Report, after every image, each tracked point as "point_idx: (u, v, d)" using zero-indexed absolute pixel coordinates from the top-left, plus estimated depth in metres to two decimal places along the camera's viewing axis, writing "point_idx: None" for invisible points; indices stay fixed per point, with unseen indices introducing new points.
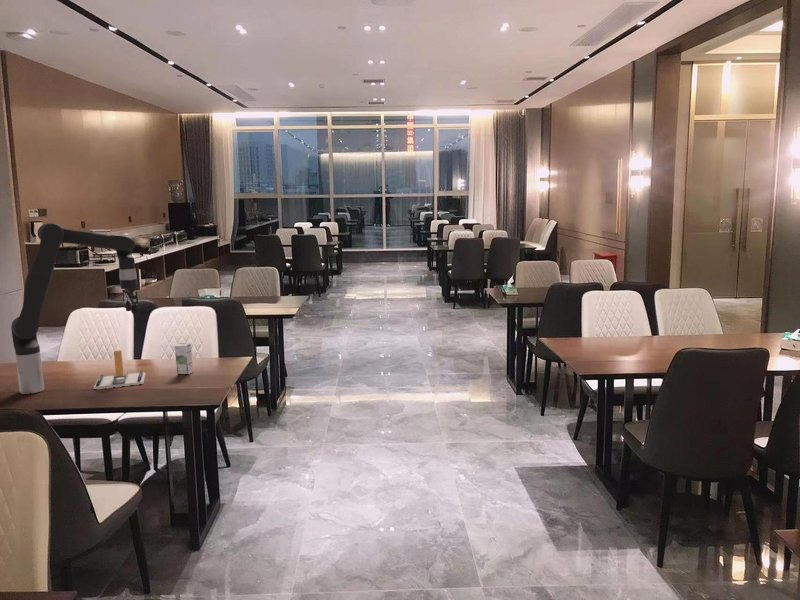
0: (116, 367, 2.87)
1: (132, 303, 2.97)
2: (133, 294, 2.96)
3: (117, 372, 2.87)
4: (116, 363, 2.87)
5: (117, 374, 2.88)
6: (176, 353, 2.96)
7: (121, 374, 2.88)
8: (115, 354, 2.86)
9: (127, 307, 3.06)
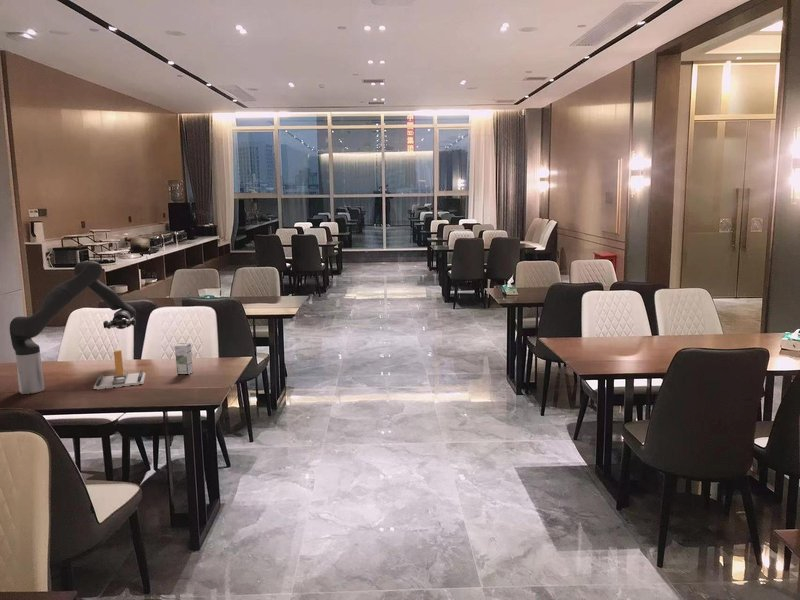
0: (116, 367, 2.87)
1: (133, 320, 3.02)
2: (135, 320, 3.06)
3: (117, 372, 2.87)
4: (116, 363, 2.87)
5: (117, 374, 2.88)
6: (176, 353, 2.96)
7: (121, 374, 2.88)
8: (115, 354, 2.86)
9: (109, 324, 2.96)
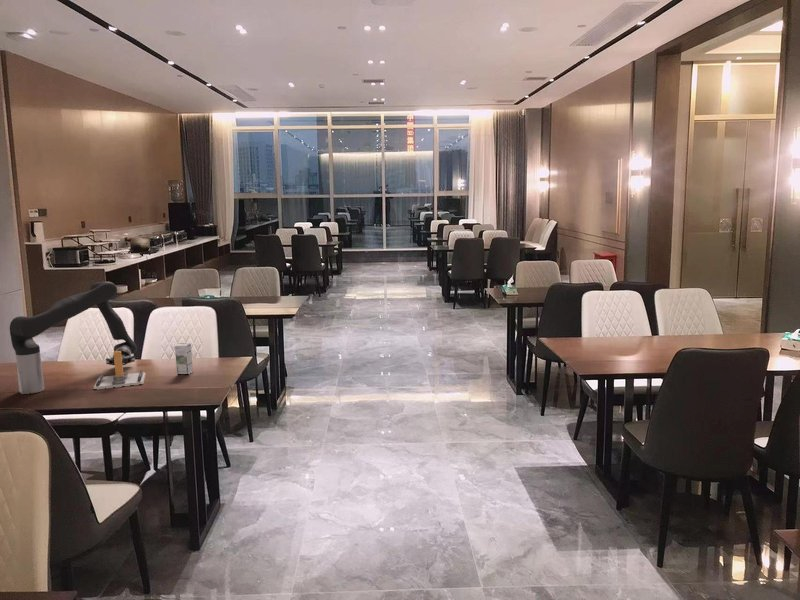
0: (116, 368, 2.86)
1: (125, 358, 2.93)
2: (133, 358, 2.97)
3: (117, 373, 2.86)
4: (116, 364, 2.85)
5: (117, 375, 2.86)
6: (176, 353, 2.96)
7: (121, 375, 2.87)
8: (115, 355, 2.85)
9: None
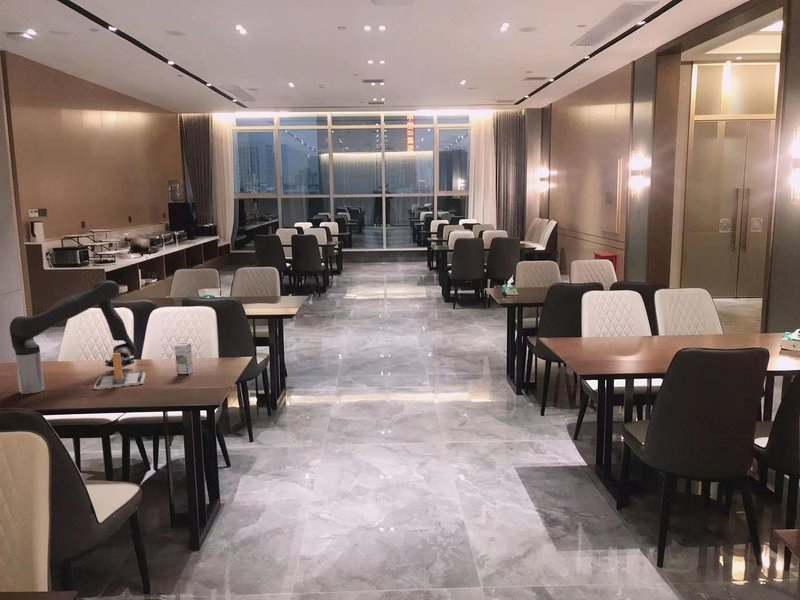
0: (115, 370, 2.82)
1: (125, 360, 2.89)
2: (132, 359, 2.93)
3: (116, 375, 2.82)
4: (115, 366, 2.82)
5: (116, 377, 2.82)
6: (176, 353, 2.96)
7: (120, 377, 2.83)
8: (114, 357, 2.81)
9: None
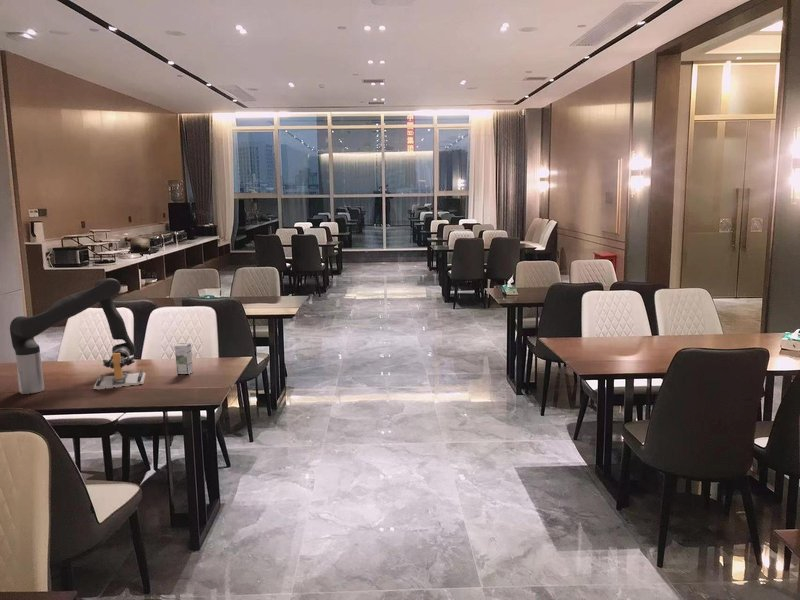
0: (115, 370, 2.82)
1: (127, 359, 2.86)
2: (133, 359, 2.90)
3: (116, 375, 2.82)
4: (115, 366, 2.82)
5: (116, 377, 2.82)
6: (176, 353, 2.96)
7: (120, 377, 2.83)
8: (114, 357, 2.81)
9: None
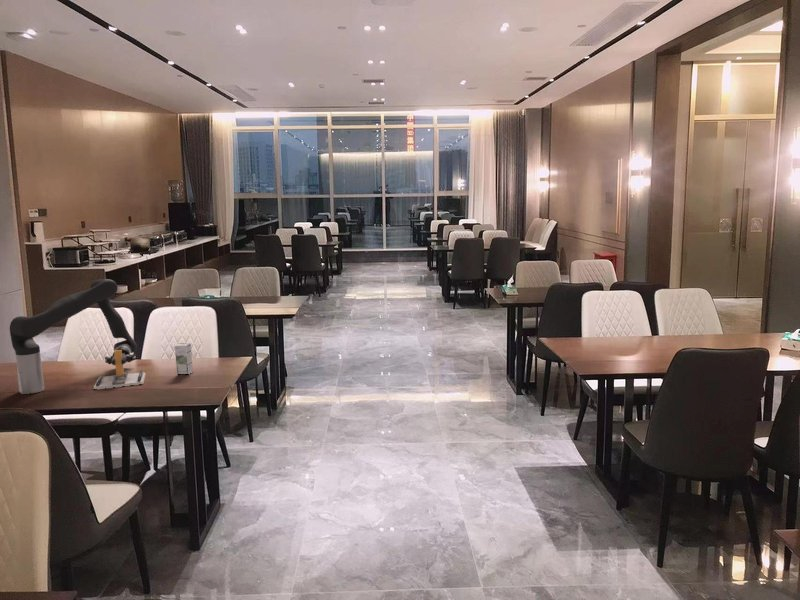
0: (116, 367, 2.88)
1: (129, 356, 2.92)
2: (134, 356, 2.96)
3: (117, 372, 2.88)
4: (116, 363, 2.88)
5: (117, 374, 2.88)
6: (176, 353, 2.96)
7: (121, 374, 2.89)
8: (115, 354, 2.87)
9: None
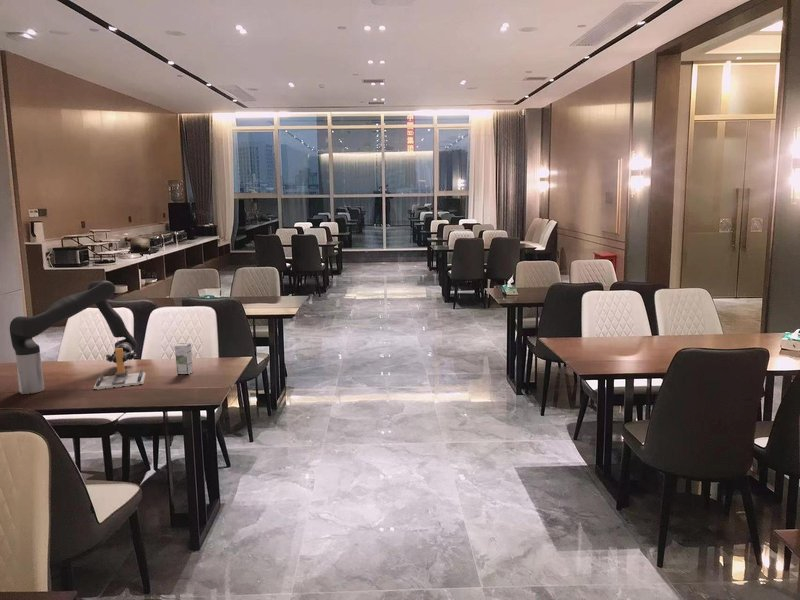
0: (117, 364, 2.92)
1: (129, 354, 2.96)
2: (135, 354, 3.00)
3: (118, 369, 2.93)
4: (117, 360, 2.92)
5: (118, 371, 2.93)
6: (176, 353, 2.96)
7: (122, 371, 2.93)
8: (116, 351, 2.91)
9: None
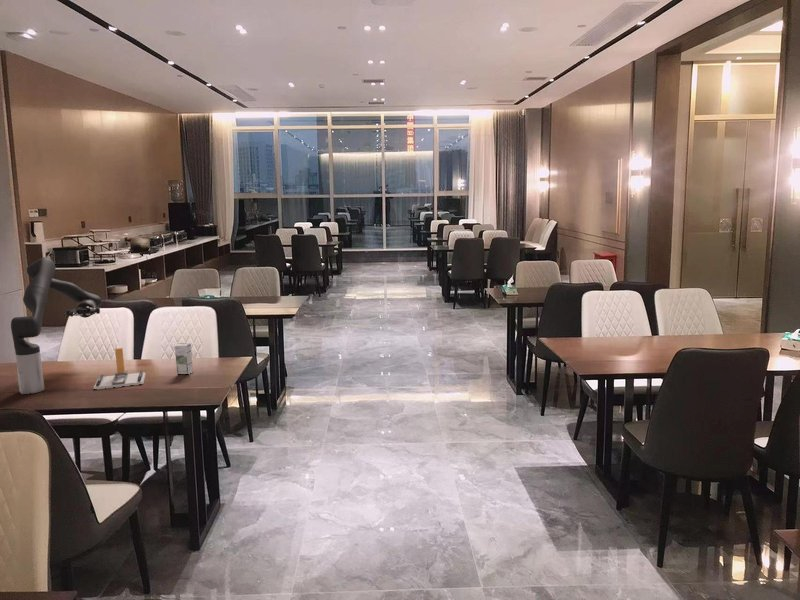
0: (117, 364, 2.92)
1: (98, 308, 3.05)
2: (99, 308, 3.09)
3: (118, 369, 2.93)
4: (117, 360, 2.92)
5: (118, 371, 2.93)
6: (176, 353, 2.96)
7: (122, 371, 2.93)
8: (116, 351, 2.91)
9: (72, 312, 2.99)
